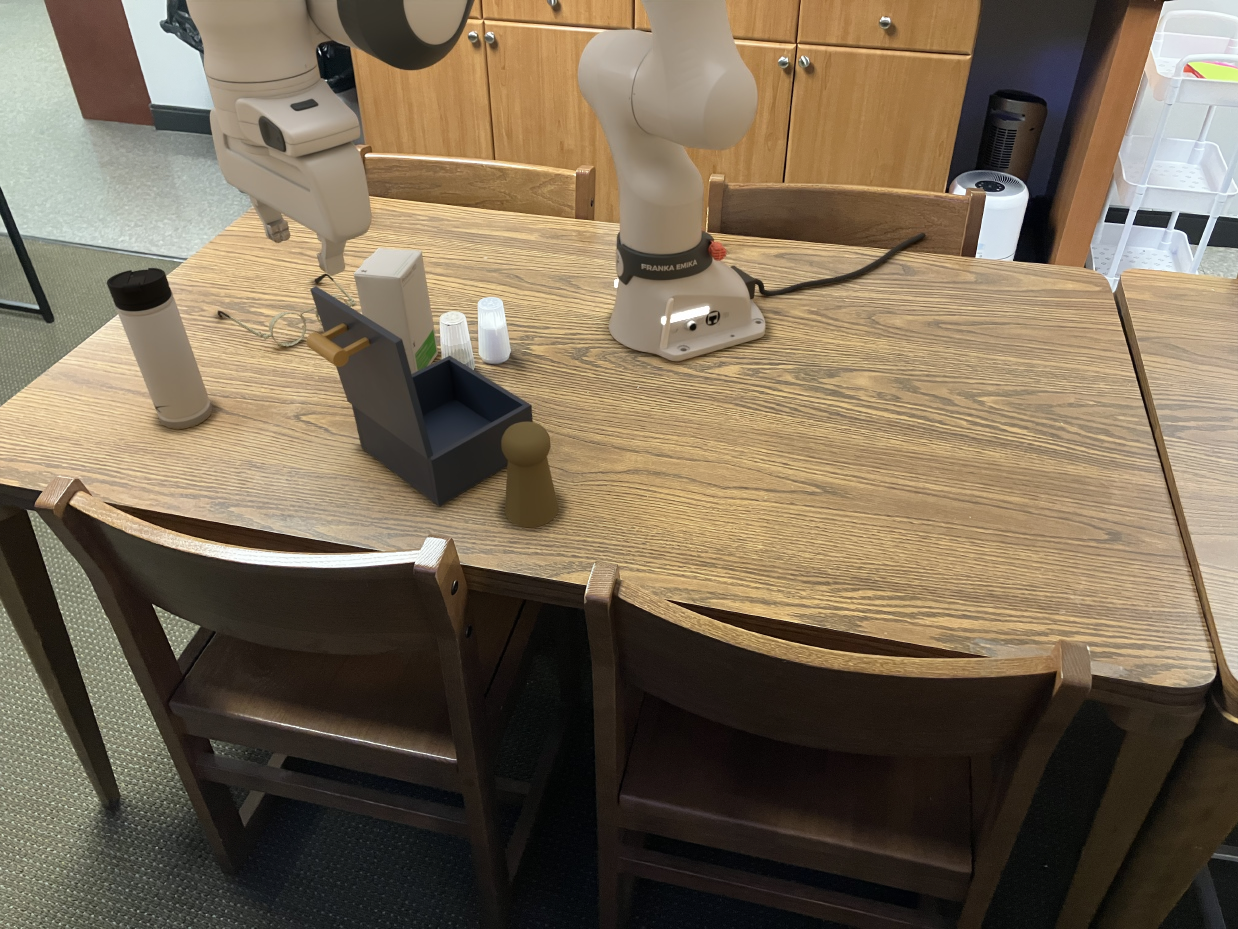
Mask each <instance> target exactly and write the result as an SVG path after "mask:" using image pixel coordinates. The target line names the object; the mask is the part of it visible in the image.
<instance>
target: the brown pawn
mask: <svg viewBox="0 0 1238 929" xmlns="http://www.w3.org/2000/svg"><path fill="white" fill-rule="evenodd" d="M501 446H502V451H503V453H504V455H505V457H506V459H507V460H508V465H507V467H506V481H505V500H504V515H505V517H506V518H507V520H508V521H509V522H510V523H512V524H513V525H516V526H518V527H521V528H522V527H524V528H537V527H540V526H544V525H546V524H548V523H550V522H552V521H553V520H554V519H555V518H556V516H557V515H558V512H559V502H558V498H557V494H556V493H557V492H556V489H555V485H554V481H553V477H552V473H551V469H550V464H549V460H548V456H549V454H550V450H551V447H552V443H551V436H550V433H549V432H548V431H547V429H546V428H545V427H544V426H542V424H540V423H537V422H534V421H533V422H519V423H516V424H513V425H511V426H510V427H509V428H508V429H506V431H505V432H504V434H503V436H502V440H501Z"/></svg>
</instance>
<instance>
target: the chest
mask: <svg viewBox="0 0 1238 929" xmlns="http://www.w3.org/2000/svg"><path fill="white" fill-rule="evenodd" d="M412 378H413V381H414V385H415V389H416V392H417V396H418V400H419V404H420V407H421V411H422V415H423V418H424V422H425V426H426V430H427V433H428V437H429V441H430V444H431V448H432V452H433V456H432V457H430V458H429V459H427V458H426V457H424V456H423V455H421V454H420V453H419V452H417V451H416V450H414V449H413V448H412V447H410V446H409V445H408V444H406V443H405V442H403V441H402V440H401V439H399V438H398V437H396V436H395V435H394V434H392V433H391V432H389V431H388V430H387V429H385V428H384V427H382V426H381V425H380V424H378V423H377V422H376V421H374V420H373V419H371V418H370V417H369V416H367V415H366V414H364V413H363V412H362V411H360V410H359V409H357V408H356V407H355V406H353V405H352V404H351V408H352V412H353V416H354V421H355V425H356V429H357V434H358V438H359V443H360V447H361V449H362V450H363V451H365V452H366V453H367V454H368V455H370V456H371V457H373V459H375V460H377V461H378V462H379V463H380V464H382V465H383V466H384V467H386V468H387V469H388V470H390V471H391V472H392V473H393V474H395V475H396V476H397V477H399V478H400V479H402V480H403V481H404V482H406V483H407V484H408V485H410V486H411V487H412V488H413V489H414V490H416V491H417V492H419V493H420V494H421V495H422V496H424V497H425V498H427V499H428V500H429V501H431V502H432V503H433V504H435V505H436V506H437V507H438V508H440V507H442V506H443V505H445V504H447V503H449V502H450V501H453V499H455V498H457V497H459V496H460V495H462V494H463V493H465V492H467V491H468V490H470V489H473V487H476V486H477V485H478V484H480V483H482V482H483V481H485V480H487V479H489V478H490V477H492V476H494V475H495V474H497V473H499V472H500V471H502V470H504V469H506V468H507V465H508V460H507V459H506V457H505V455H504V453H503V451H502V446H501V440H502V436H503V434H504V432H505V431H506V429H508V428H509V427H510V426H511V425H513V424H516V423H519V422H534V421H533V418H534V417H533V410H532V409H533V408H532V406H533V405H532V404H530V402H527V401H525V400H524V399H523V398H521V397H520V396H517V394H514V393H512V392H511V391H509V390H508V389H506V388H504V387H502V386H501V385H499V384H498V383H496V382H495V381H492V380H491V379H489V378H488V377H486V376H484V375H483V374H482V373H479V372H478V371H476V370H474V369H473V368H471V367H470V366H468V365H467V364H465V363H463V362H462V361H460V360H458V359H456V358H455V357H453V356H451V355H448V356H445V357H444V358H442V359H439V360H438V361H435V362H432V363H431V365H429V366H427V367H425V368H423V369H421V370H419V371H417V372H415V373H413V374H412Z"/></svg>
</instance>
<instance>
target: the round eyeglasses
mask: <svg viewBox="0 0 1238 929" xmlns="http://www.w3.org/2000/svg"><path fill="white" fill-rule="evenodd" d="M326 277H327V278H328V279H329V280H331V281H332V283H334V284H335V286H336V287H337V288H338V289H339V290H340V292H342V293H343V295H344V296H345V297H346V298H347V299H348V301H347V300H346V299H345V298H344V297H343V296H341V295H340V294H335V293H332V294H330V295H331V296H333V297H335V298H338V299H342V301H343V303H345V304H346V305H348V306H349V307H351V308H353V307H356V306H357V305H358V304H357V302H356V301H355V300H354V298H353V297H352V296H351V295H350V294H349V293H347V291H346V290H345V289H344V288H343V287H342V286H341V285H340V284H339V283H338V282H337V281H336V280H335V278H333V276H331V275H329V274H327V273H326V272H324V273H323V274H321V275H319V276H318V277H316V278H314V283H315V284H319V283H320V282H321V281H322V280H324V278H326ZM311 311H315V318H316V320H317V322H318V323H319V325H320V326H322V323H321V320H320V317H319V314H318V311H317V308H316V306H315V307H311V308H309V309H305V310H302V312H300V314H299V313H297V312H295V311H281V312H279V313H277V314H276V315H274V316H273V317H272V318H271V320H270V322H269V324H268V331H270V333H269V334H268V333H267V332H264V333H262V332H261V331H260V330H259V331H257V330H255V329H253V328H252V327H250V326H248V325H247V324H244V323H243V322H241V321H239V320H238V319H236V318H235V317H233V316H230V315H228V314H227V313H225V312H224V311H222V310H217V315H218V317H220V318H222V317H223V316H225V317H226V318H228V319H229V320H230V321H232V322H234V323H236V324H237V325H239V326H240V327H242V328H243V329H245V330H246V331H248V332H250V333H251V334H253V335H254V336H256V337H258V338H260V339H262V338H263V340H264V341H265V340H269V338H271V339H272V340H273V341H274V342H275V343H276V344H277V347H281V346H282V347H292V346H295V345H297V344H298V343H300V342H301V341H302V340H303V339H304V337H305V335H306V332H307V323H306V322H307V321H306V318H305V316H303V315H304V314H305V313H307V312H311ZM285 315H296V316H298V317H300V319H301V320H302V323H303V325H301V327H300V328H301V329H303V330H302V333H301V335H300V337H299V338H298V339H297V340H295V341H292V342H289V343H287V342H279V341H277V340H276V339H275V337H274V327H275V325H276V323H277V321H278V320H279V319H280V318H282V317H284V316H285Z"/></svg>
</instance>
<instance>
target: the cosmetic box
mask: <svg viewBox="0 0 1238 929" xmlns="http://www.w3.org/2000/svg"><path fill="white" fill-rule="evenodd" d="M424 263H425V262H424V257H423V251H422V250H420V249H419V250H418V249H404V248H403V249H402V248H385V247H378V248H377V249H376V250H374V252H373V253H372V254H371V255H370V256H369V257H366V258H365V259H364V260H363V261H362V264H361V266H359V267H358V268H357V269H356V271H354V272H353V278H354V282H355V287H356V292H357V295H358V302H359V305H360V311H361V314H362V315H364V316H365V317H367V318H369V319H370V320H372V321H373V322H375V323H377V324H378V325H380V326H382V327H383V328H385V329H386V330H388V331H390V332H391V333H393V334H395V335H396V336H398V337H399V338H401V339H402V341H403V344H404V348H405V352H406V355H407V359H408V363H409V367H410V370H411V374H413V373H415V372H417V371H419V370H421V369H423V368H425V367H427V366H429V365H431V364H433V363H434V360H435V359H436V358H437V356H439V355H438V354H439V348H438V342H437V338H436V331H435V325H434V318H433V313H432V305H431V299H430V294H429V288H428V281H427V274H426V269H425V264H424Z"/></svg>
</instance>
